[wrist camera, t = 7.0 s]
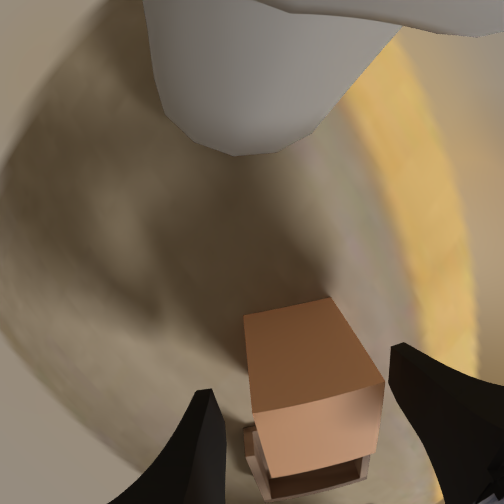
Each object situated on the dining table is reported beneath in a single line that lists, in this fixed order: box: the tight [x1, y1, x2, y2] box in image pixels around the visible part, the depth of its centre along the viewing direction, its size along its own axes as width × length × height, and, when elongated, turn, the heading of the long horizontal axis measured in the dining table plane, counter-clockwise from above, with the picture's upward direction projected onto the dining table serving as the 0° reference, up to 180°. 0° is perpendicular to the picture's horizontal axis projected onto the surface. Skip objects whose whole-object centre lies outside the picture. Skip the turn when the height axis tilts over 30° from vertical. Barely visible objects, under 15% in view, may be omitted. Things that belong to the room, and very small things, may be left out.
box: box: [243, 426, 370, 503], centre depth 16 cm, size 6×7×2 cm
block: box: [243, 297, 385, 478], centre depth 12 cm, size 4×4×6 cm
